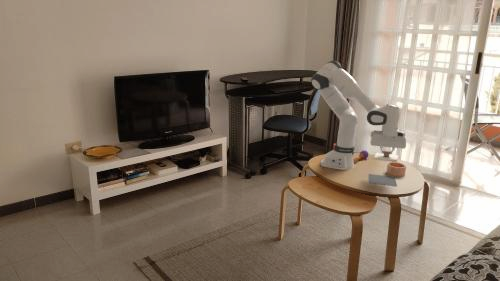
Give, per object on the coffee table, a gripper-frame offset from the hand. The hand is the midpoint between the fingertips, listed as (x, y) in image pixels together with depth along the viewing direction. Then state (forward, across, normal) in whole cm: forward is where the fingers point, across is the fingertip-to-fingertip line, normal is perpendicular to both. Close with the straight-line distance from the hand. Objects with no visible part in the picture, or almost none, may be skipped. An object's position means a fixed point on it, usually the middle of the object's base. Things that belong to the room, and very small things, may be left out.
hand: (386, 153), depth 232 cm
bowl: (+17, +8, +14) cm, 23 cm away
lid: (+3, 0, 0) cm, 3 cm away
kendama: (+18, -15, +33) cm, 40 cm away
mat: (+17, -1, -1) cm, 17 cm away
